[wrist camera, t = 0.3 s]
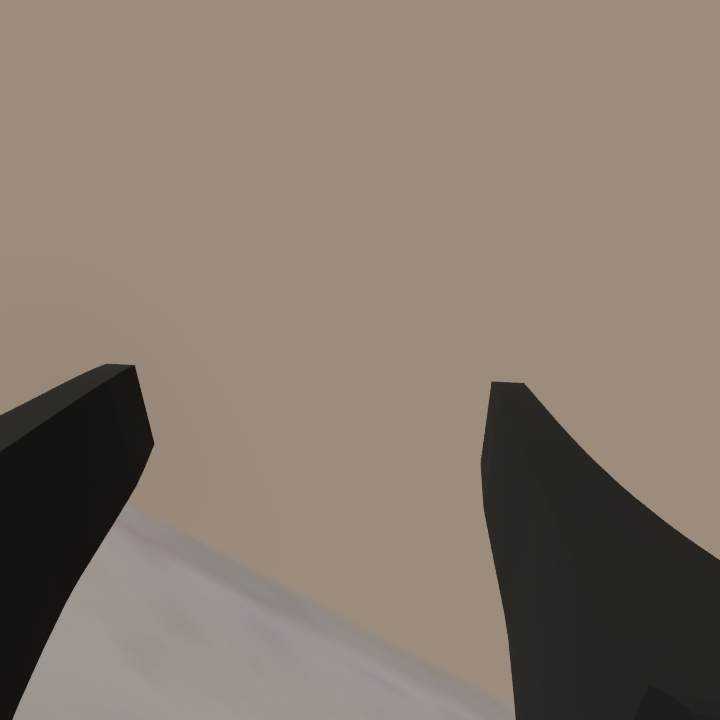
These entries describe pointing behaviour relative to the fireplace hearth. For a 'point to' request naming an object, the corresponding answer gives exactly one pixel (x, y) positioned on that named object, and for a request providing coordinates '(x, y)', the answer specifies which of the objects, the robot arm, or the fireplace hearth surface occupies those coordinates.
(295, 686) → the fireplace hearth surface
